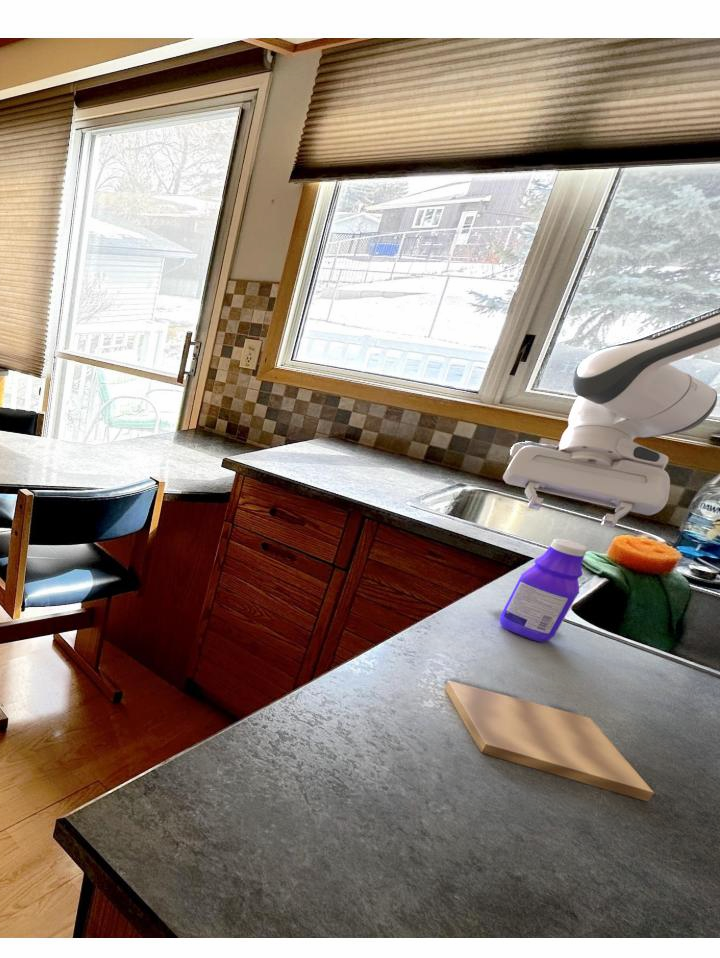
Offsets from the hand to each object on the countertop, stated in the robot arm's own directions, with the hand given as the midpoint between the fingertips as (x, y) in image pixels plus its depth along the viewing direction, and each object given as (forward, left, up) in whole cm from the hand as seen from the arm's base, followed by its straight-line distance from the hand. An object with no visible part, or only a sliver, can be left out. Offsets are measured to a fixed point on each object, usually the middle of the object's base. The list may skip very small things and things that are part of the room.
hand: (569, 516), depth 107 cm
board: (+15, +44, -19) cm, 51 cm away
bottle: (+4, +10, -19) cm, 22 cm away
